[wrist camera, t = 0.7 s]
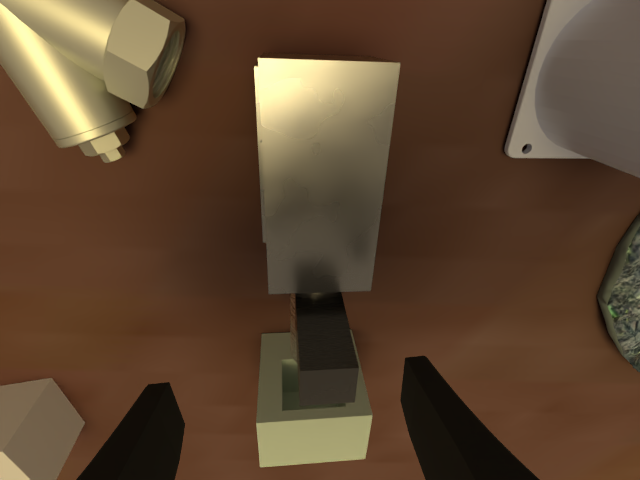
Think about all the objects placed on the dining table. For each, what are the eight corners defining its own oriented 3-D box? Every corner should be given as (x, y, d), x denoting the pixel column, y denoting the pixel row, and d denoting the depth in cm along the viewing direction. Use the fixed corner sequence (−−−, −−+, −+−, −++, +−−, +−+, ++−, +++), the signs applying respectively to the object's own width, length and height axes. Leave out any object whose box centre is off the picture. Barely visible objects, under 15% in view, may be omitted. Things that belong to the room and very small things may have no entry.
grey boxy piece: (369, 54, 16) (413, 63, 11) (354, 224, 20) (380, 290, 15) (256, 50, 15) (243, 57, 10) (264, 225, 20) (258, 294, 14)
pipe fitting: (147, 157, 18) (193, 20, 15) (115, 190, 15) (165, 24, 12) (-42, 70, 15) (-34, -117, 12) (-132, 88, 12) (-151, -160, 9)
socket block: (351, 329, 24) (372, 415, 19) (347, 370, 26) (365, 458, 21) (261, 333, 24) (256, 423, 18) (264, 375, 25) (260, 467, 20)
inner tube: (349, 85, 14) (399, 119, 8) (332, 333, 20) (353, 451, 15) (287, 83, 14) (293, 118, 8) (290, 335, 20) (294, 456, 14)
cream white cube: (52, 376, 24) (2, 451, 20) (85, 421, 26) (48, 496, 22) (-24, 388, 24) (-91, 467, 19) (17, 432, 26) (-34, 510, 22)
